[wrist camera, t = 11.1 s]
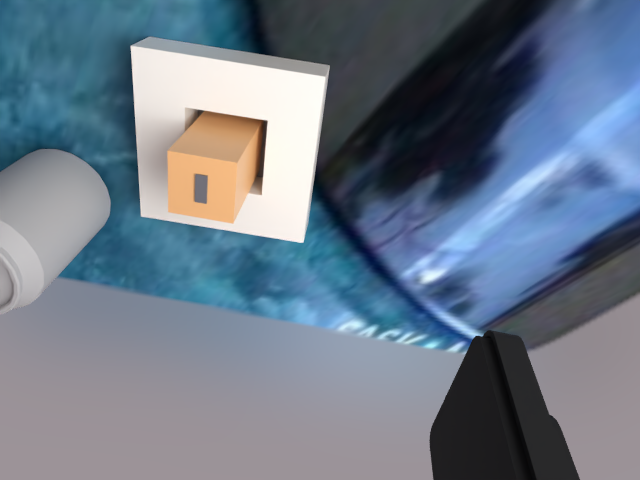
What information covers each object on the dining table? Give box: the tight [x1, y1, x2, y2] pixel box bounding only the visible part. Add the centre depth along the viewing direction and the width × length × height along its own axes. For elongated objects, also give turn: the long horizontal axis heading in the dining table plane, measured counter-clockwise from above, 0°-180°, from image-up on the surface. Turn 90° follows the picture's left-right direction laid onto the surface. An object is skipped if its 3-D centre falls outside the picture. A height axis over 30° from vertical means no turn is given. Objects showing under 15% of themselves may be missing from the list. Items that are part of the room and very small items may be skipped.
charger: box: [167, 111, 264, 224], centre depth 33 cm, size 4×4×8 cm
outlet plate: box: [131, 37, 330, 243], centre depth 36 cm, size 12×12×3 cm
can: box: [0, 149, 111, 314], centre depth 35 cm, size 8×8×12 cm
